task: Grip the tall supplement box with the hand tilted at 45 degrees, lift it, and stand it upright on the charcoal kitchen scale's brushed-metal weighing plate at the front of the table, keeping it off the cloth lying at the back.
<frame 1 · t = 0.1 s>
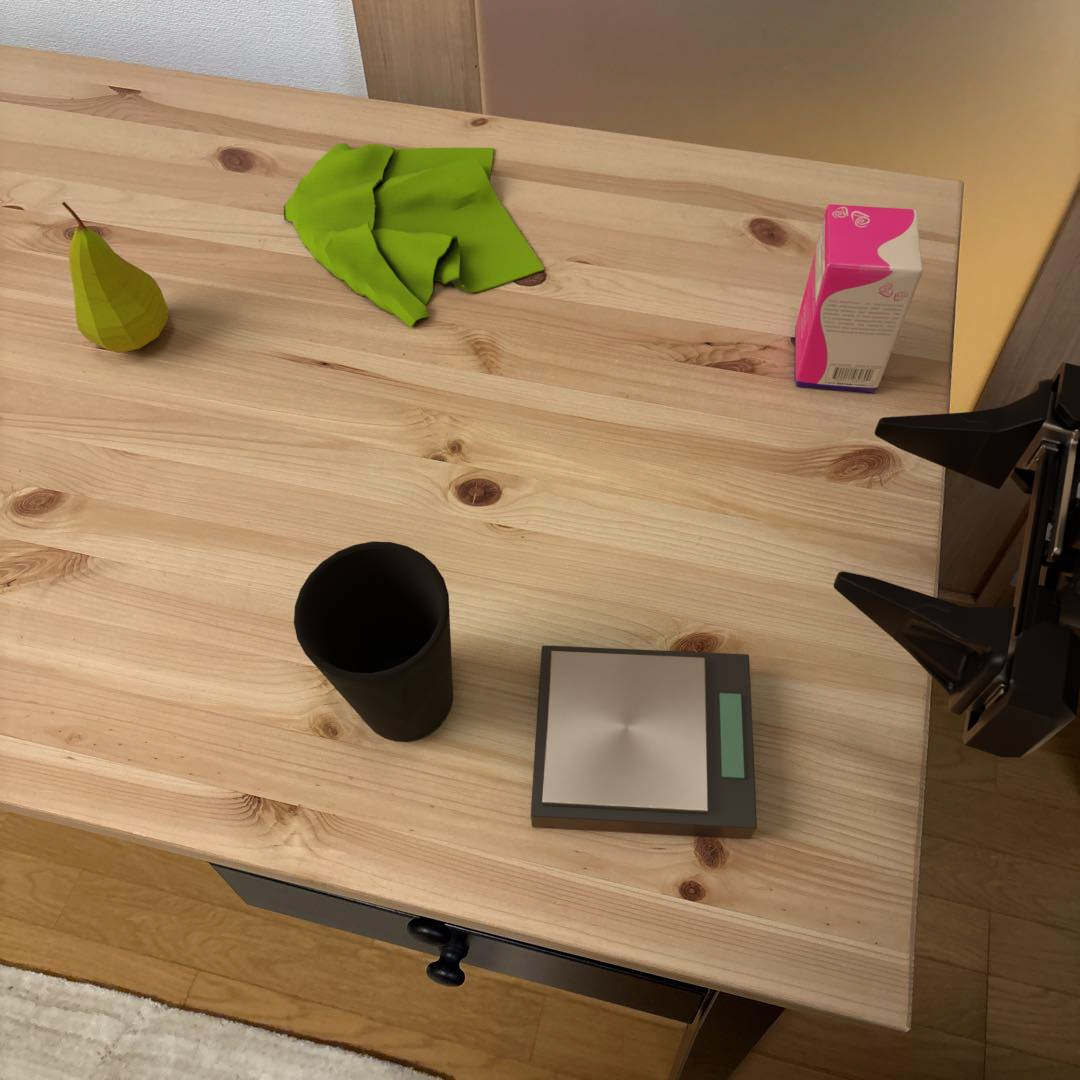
hand: (857, 499, 48), 15 cm above the table, tool horizontal, fingers open, 9 cm apart
scale: (641, 745, 58), on the table
supplement box: (833, 360, 72), on the table
cloth: (414, 232, 80), on the table
cup: (407, 698, 60), on the table
fruit: (138, 338, 75), on the table
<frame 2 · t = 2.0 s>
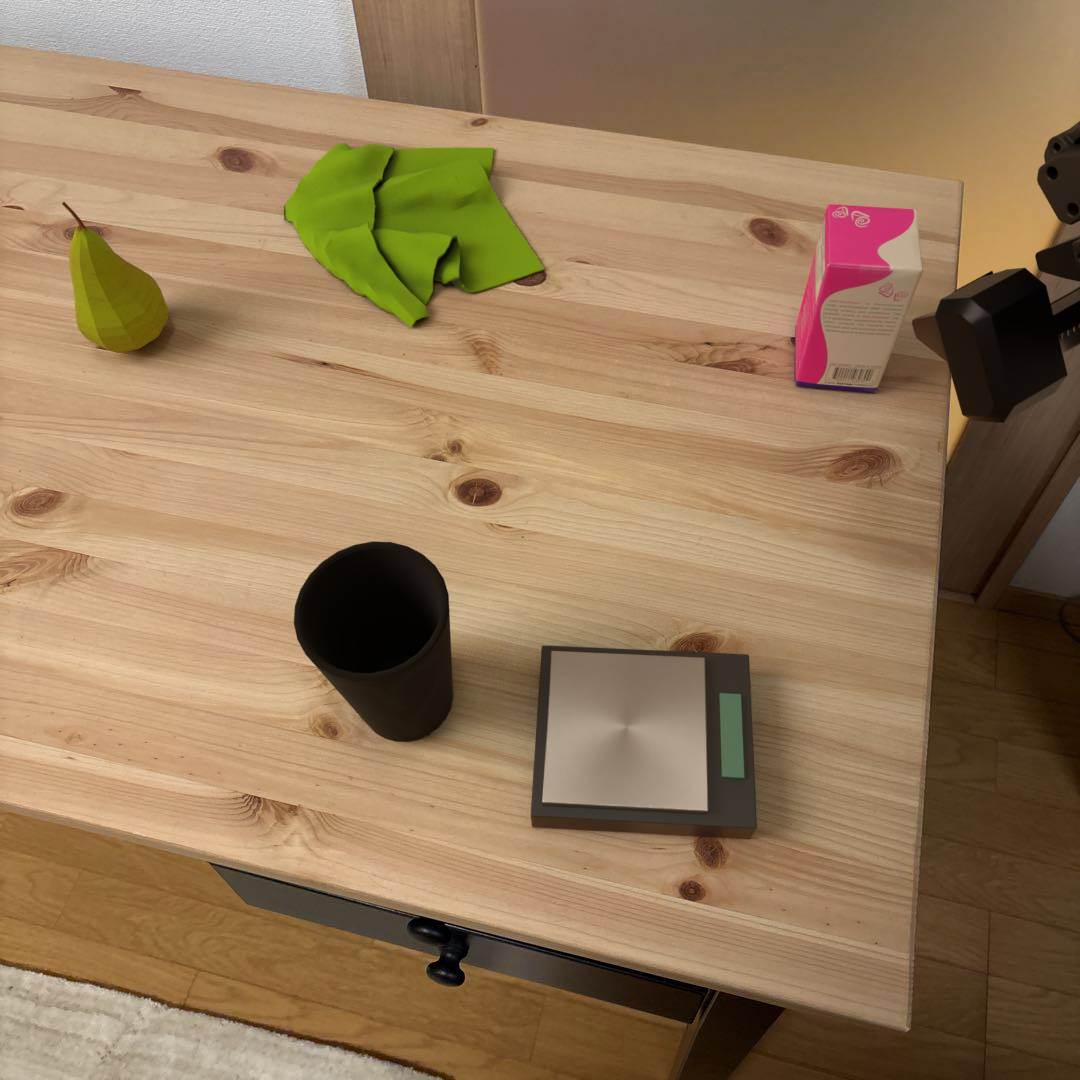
hand: (978, 293, 56), 14 cm above the table, tool tilted 45°, fingers open, 9 cm apart
nothing on the table moved.
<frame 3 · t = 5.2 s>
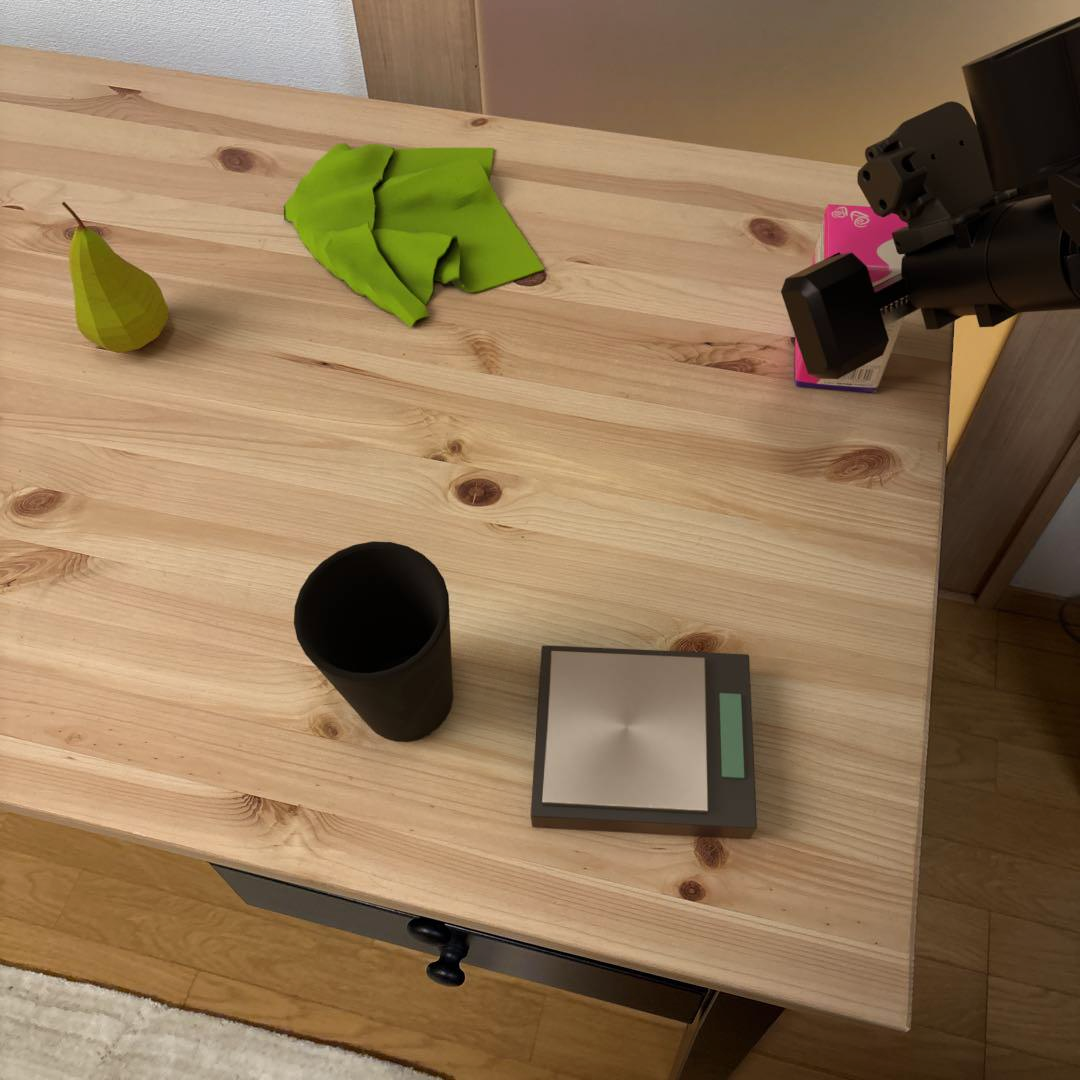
hand: (843, 279, 67), 7 cm above the table, tool tilted 45°, fingers closed on supplement box, 8 cm apart
supplement box: (833, 360, 72), on the table, touching gripper
everything else where it was.
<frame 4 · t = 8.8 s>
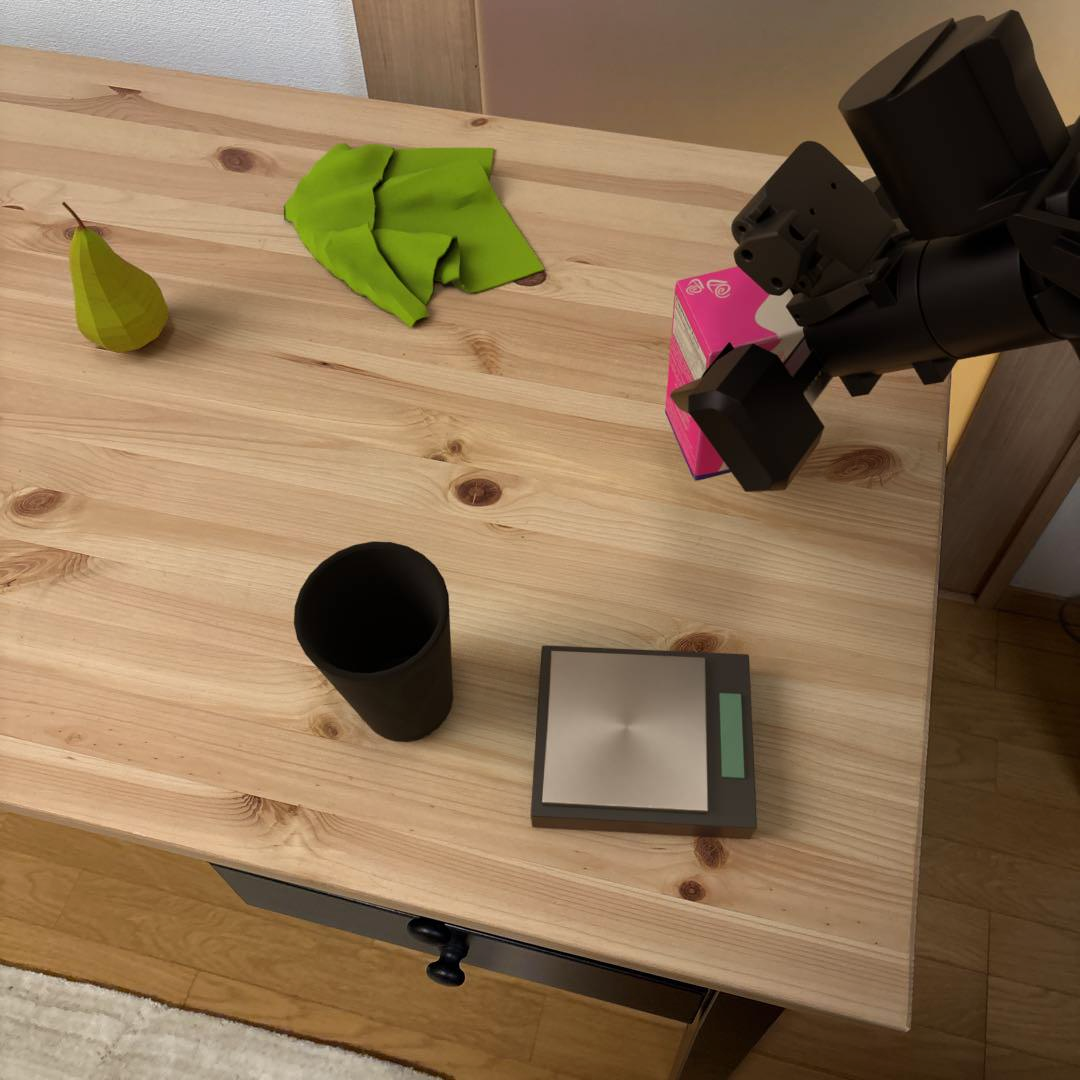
hand: (713, 353, 57), 12 cm above the table, tool tilted 45°, fingers closed on supplement box, 8 cm apart
supplement box: (720, 436, 62), point 5 cm above the table, touching gripper
everything else where it was.
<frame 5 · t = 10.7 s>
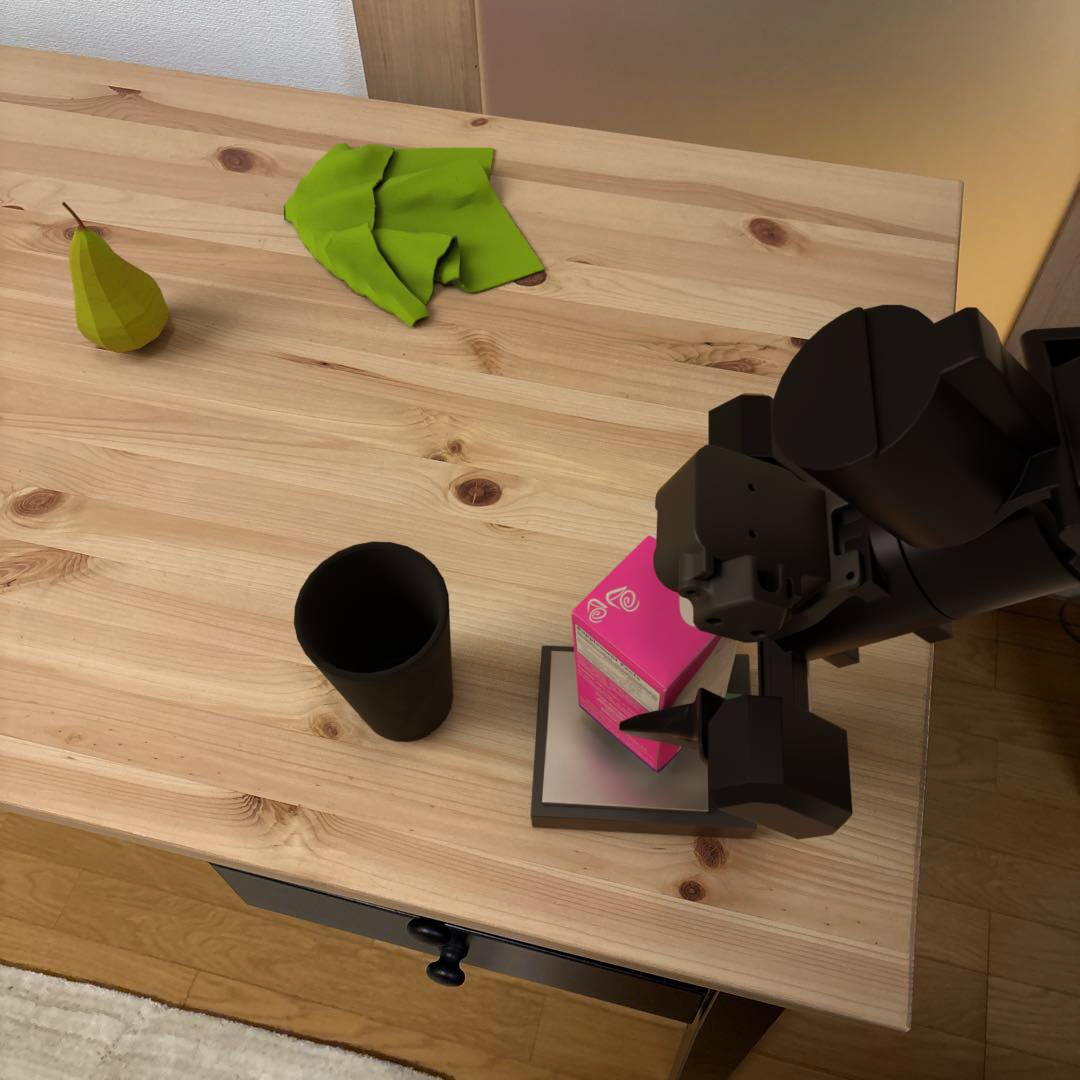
hand: (628, 649, 48), 12 cm above the table, tool tilted 45°, fingers closed on supplement box, 8 cm apart
supplement box: (649, 703, 54), point 5 cm above the table, touching gripper
everything else where it was.
when the fingers open (10 cm above the table, at t = 12.5 s): supplement box stays where it is, resting on scale.
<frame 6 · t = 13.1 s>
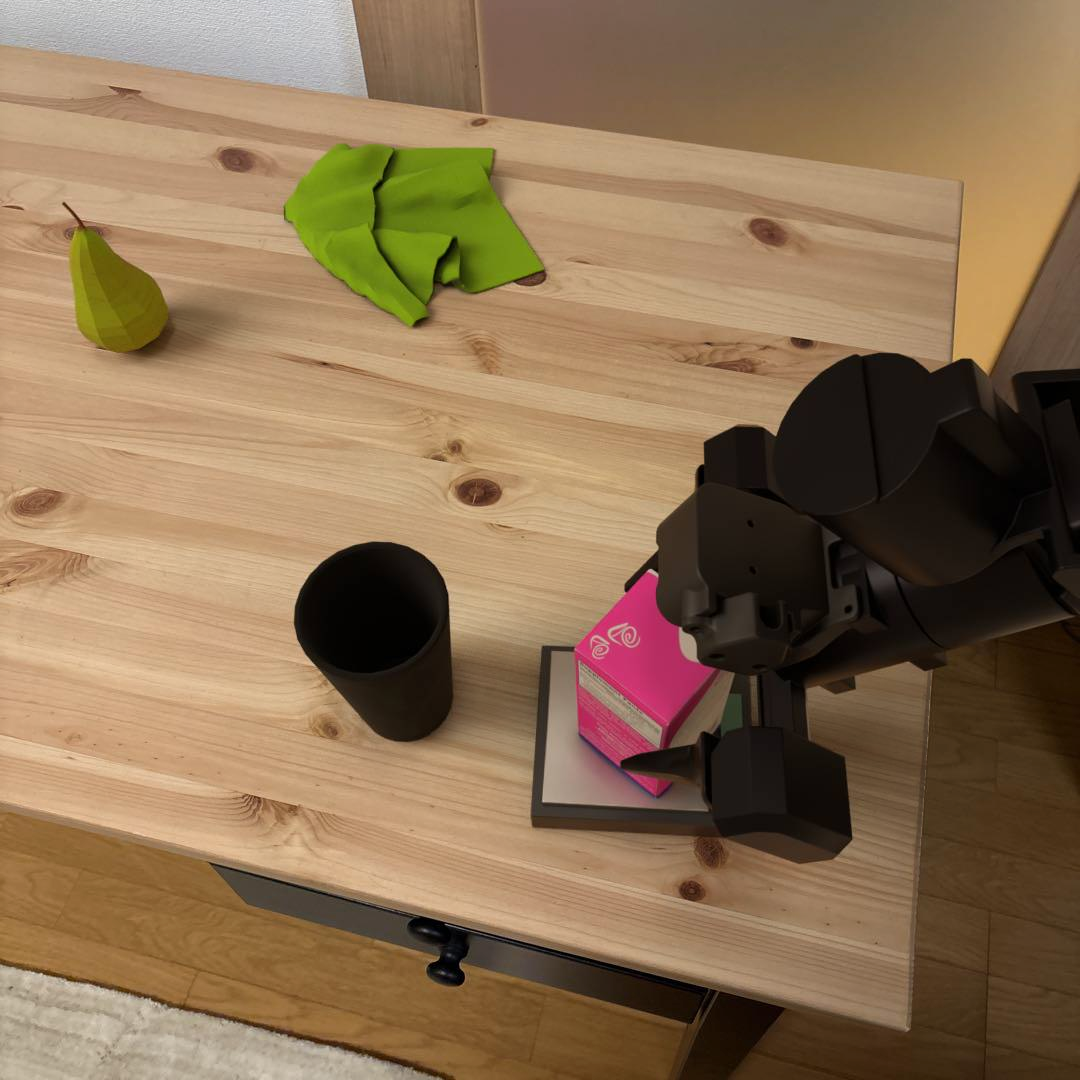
hand: (627, 675, 49), 10 cm above the table, tool tilted 45°, fingers open, 9 cm apart
supplement box: (647, 730, 55), point 3 cm above the table, touching scale
everything else where it was.
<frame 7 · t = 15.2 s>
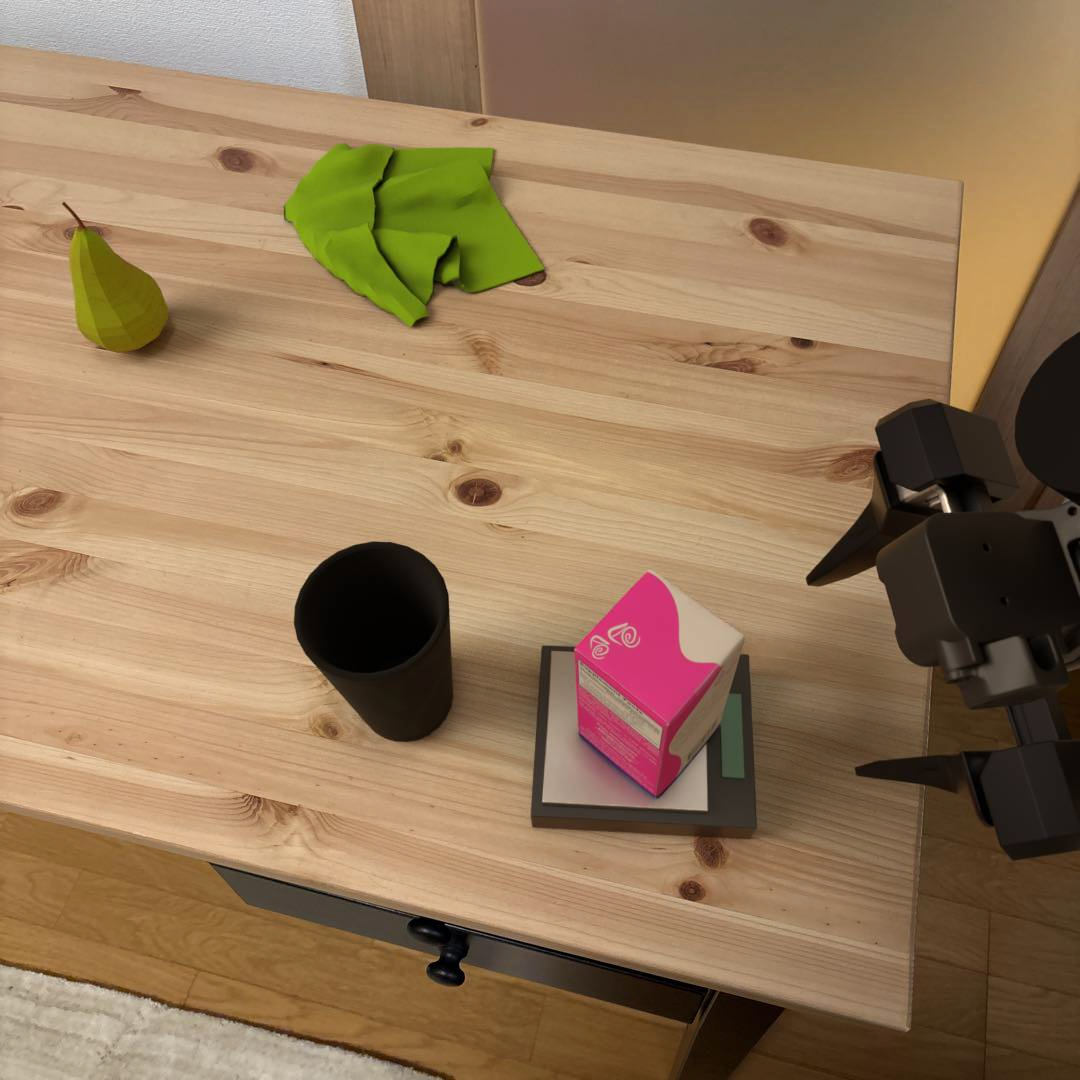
hand: (835, 673, 47), 11 cm above the table, tool tilted 35°, fingers open, 9 cm apart
nothing on the table moved.
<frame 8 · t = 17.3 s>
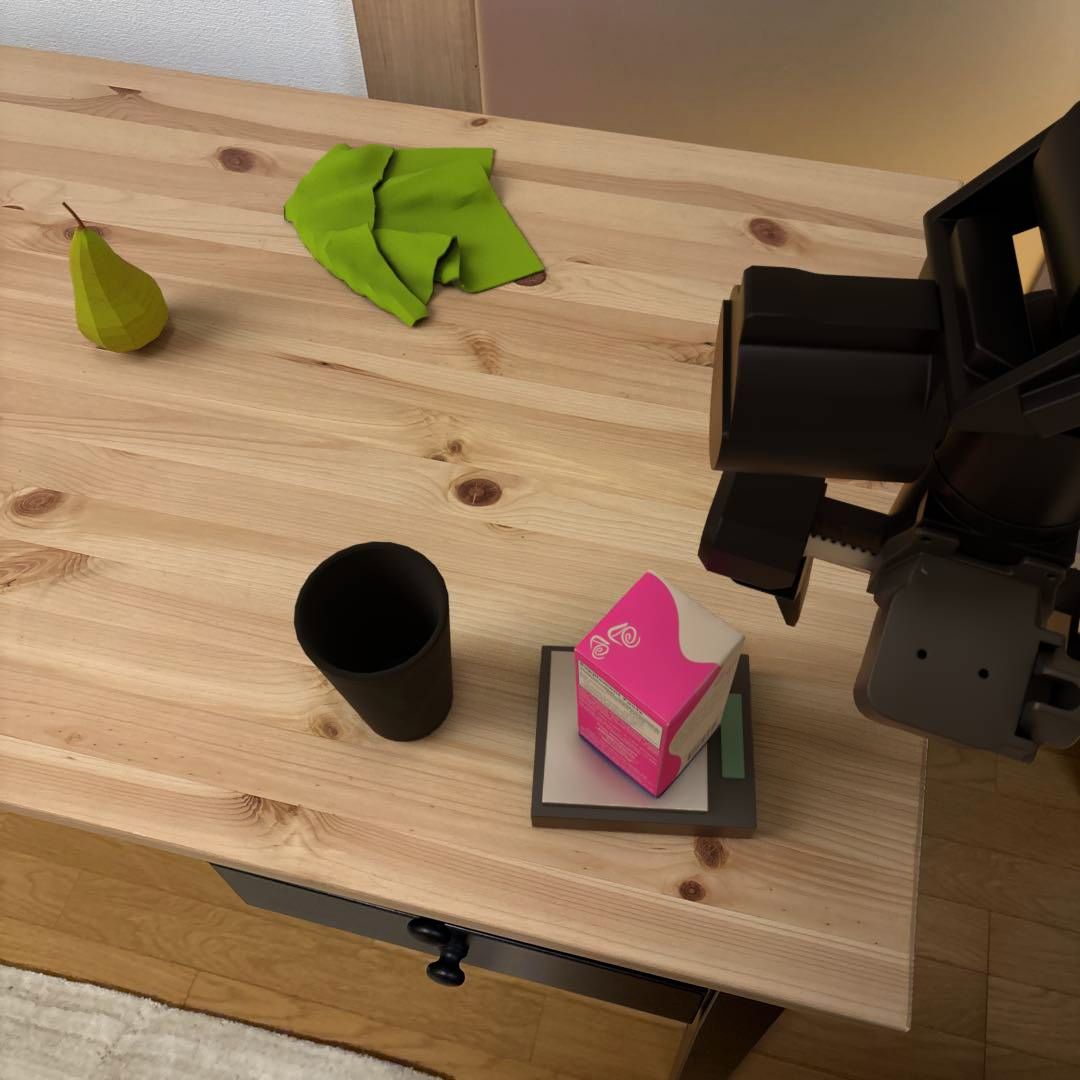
hand: (890, 648, 46), 13 cm above the table, tool pointing down, fingers open, 9 cm apart
nothing on the table moved.
at the end: supplement box inside the target area on the scale (1.0 cm from its centre), point 2.8 cm above the scale's base; supplement box tilted 0°; supplement box touching scale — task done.
